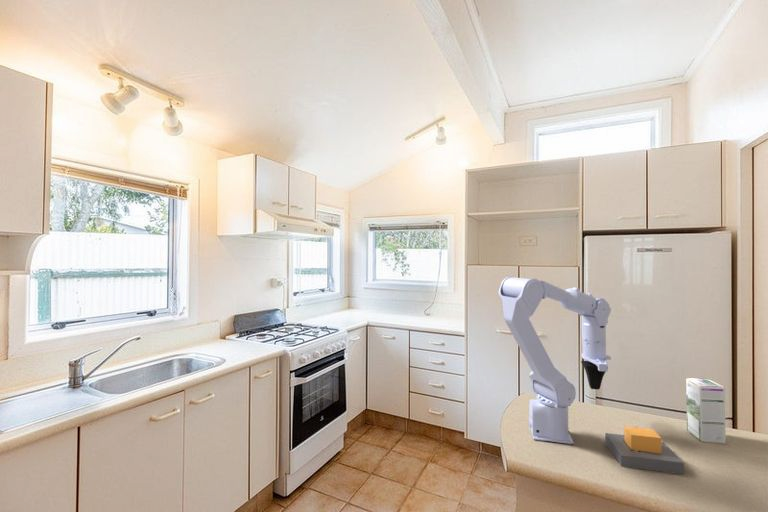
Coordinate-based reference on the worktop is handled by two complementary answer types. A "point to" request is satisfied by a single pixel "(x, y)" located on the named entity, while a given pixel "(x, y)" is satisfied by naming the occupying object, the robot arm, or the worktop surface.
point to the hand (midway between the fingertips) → (594, 388)
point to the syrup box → (706, 410)
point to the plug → (642, 439)
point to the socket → (644, 456)
